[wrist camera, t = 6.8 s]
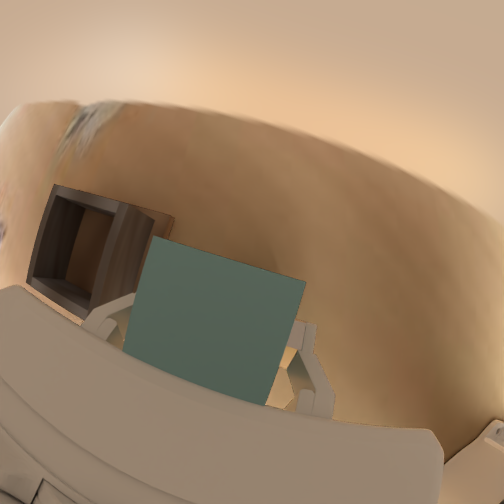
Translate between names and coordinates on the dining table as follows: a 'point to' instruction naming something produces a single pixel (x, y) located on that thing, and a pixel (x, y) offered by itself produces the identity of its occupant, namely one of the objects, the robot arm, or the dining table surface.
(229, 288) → the teal block
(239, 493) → the robot arm
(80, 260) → the box
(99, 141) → the dining table surface
